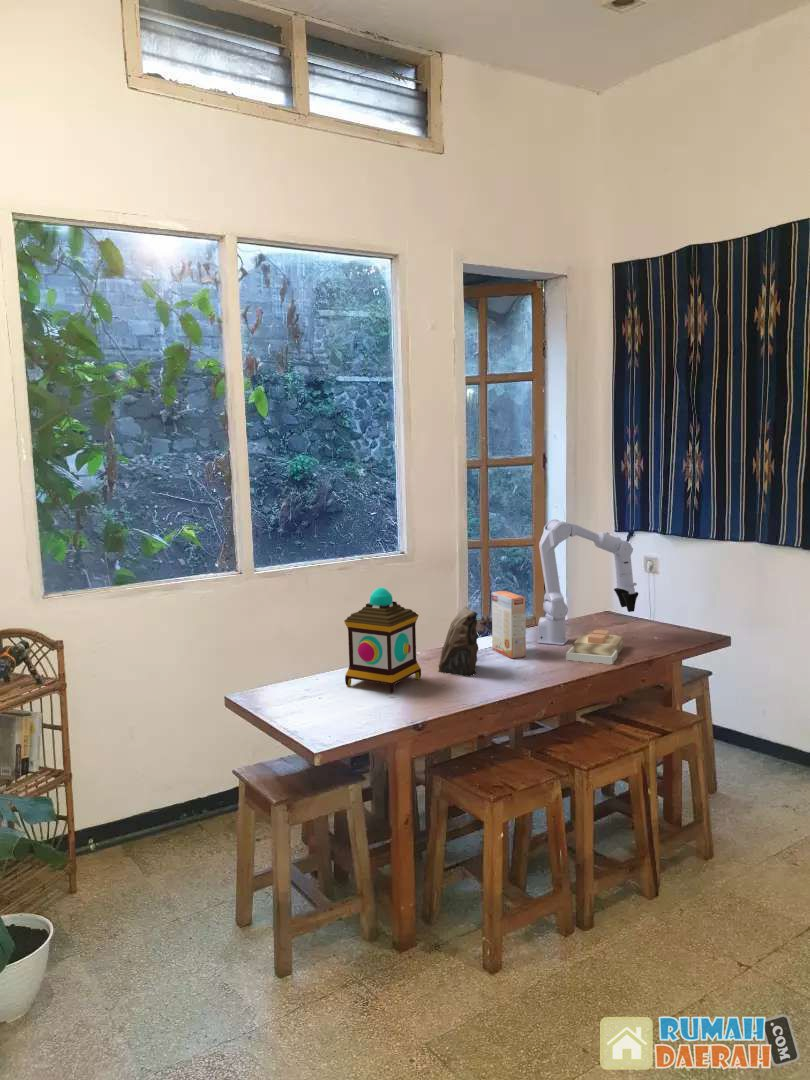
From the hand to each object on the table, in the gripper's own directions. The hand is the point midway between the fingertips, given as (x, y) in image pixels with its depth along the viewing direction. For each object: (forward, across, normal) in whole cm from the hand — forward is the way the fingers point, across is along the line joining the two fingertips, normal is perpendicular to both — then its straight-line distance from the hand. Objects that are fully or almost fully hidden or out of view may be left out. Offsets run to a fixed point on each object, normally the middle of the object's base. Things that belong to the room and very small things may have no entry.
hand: (627, 609), depth 300 cm
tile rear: (+5, -14, +15) cm, 21 cm away
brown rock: (+3, -33, +67) cm, 75 cm away
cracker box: (+5, -15, +48) cm, 50 cm away
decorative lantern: (0, -42, +92) cm, 101 cm away
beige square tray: (+8, -16, +16) cm, 25 cm away
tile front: (+4, -19, +18) cm, 26 cm away
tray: (+8, -26, +22) cm, 35 cm away
